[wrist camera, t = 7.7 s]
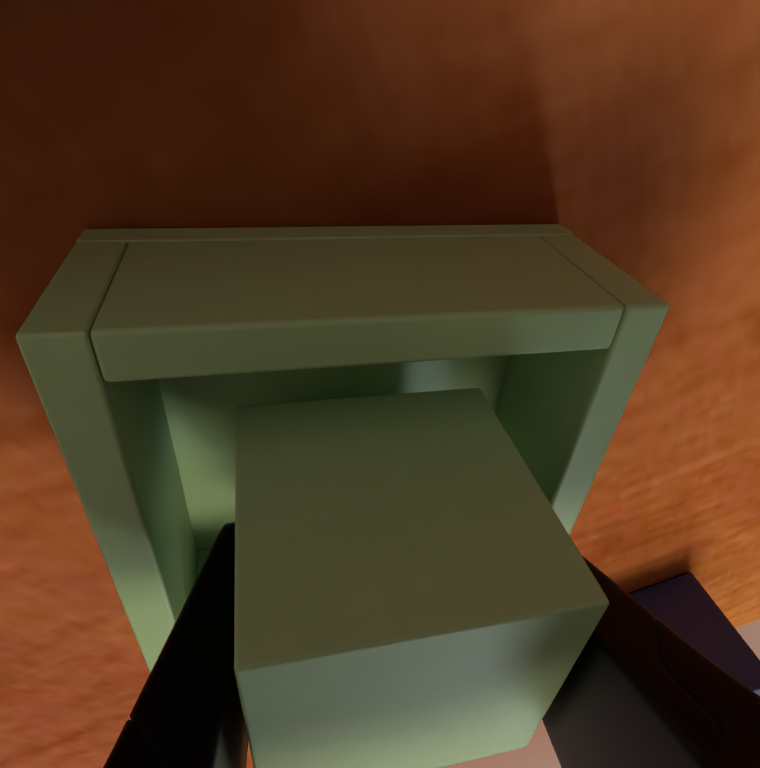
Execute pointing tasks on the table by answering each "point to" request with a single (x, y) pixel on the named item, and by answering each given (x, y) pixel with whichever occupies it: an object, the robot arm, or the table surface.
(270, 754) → the sage block
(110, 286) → the sage bin
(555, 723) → the robot arm
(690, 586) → the navy block
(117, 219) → the table surface
